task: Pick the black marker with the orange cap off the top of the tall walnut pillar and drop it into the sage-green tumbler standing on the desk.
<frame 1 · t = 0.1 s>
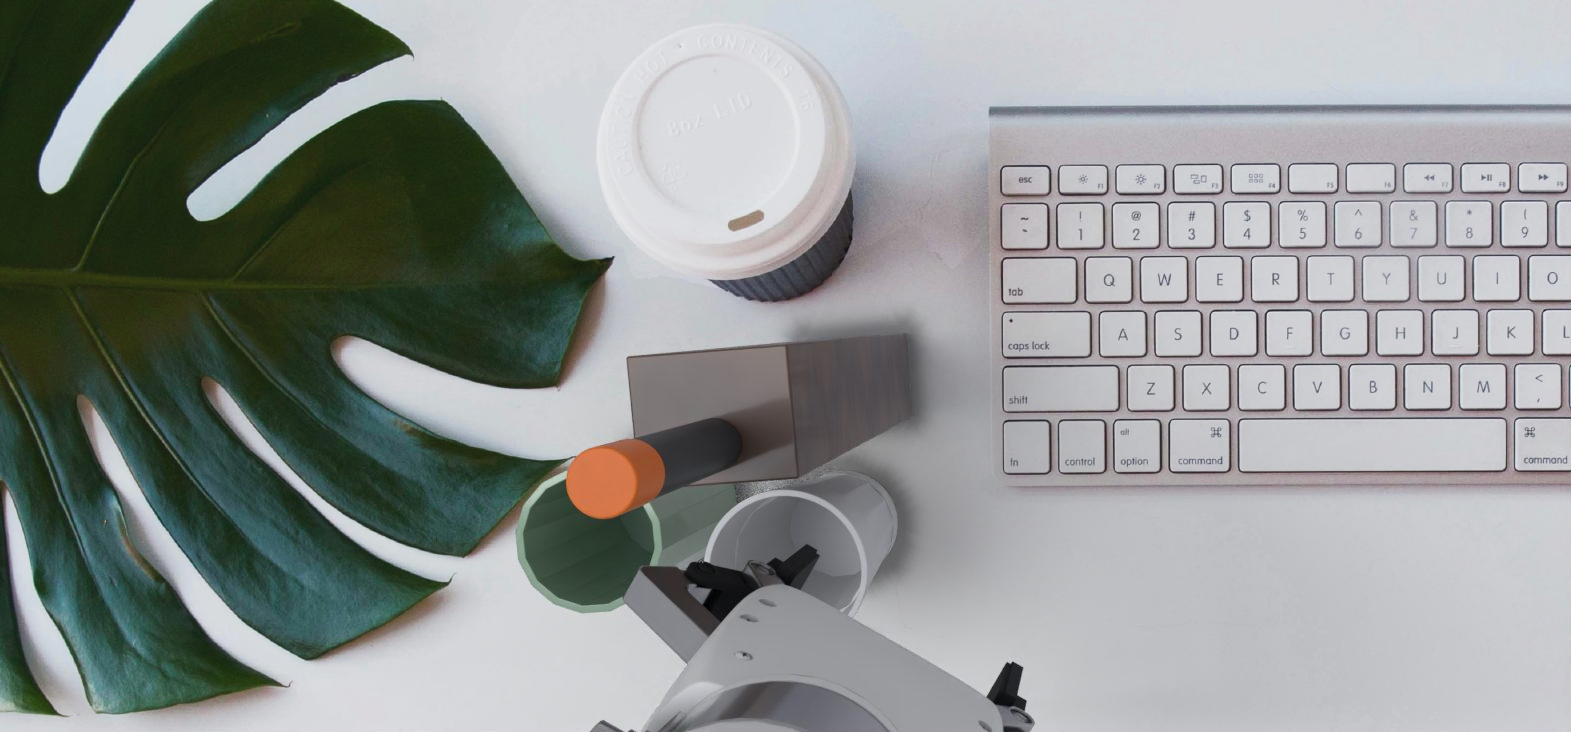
hand: (897, 636, 45), 19 cm above the table, tool pointing down, fingers open, 9 cm apart
glass: (676, 501, 64), on the table
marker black: (714, 444, 40), point 24 cm above the table, touching stand
cup: (845, 522, 64), on the table
stand: (859, 378, 64), on the table
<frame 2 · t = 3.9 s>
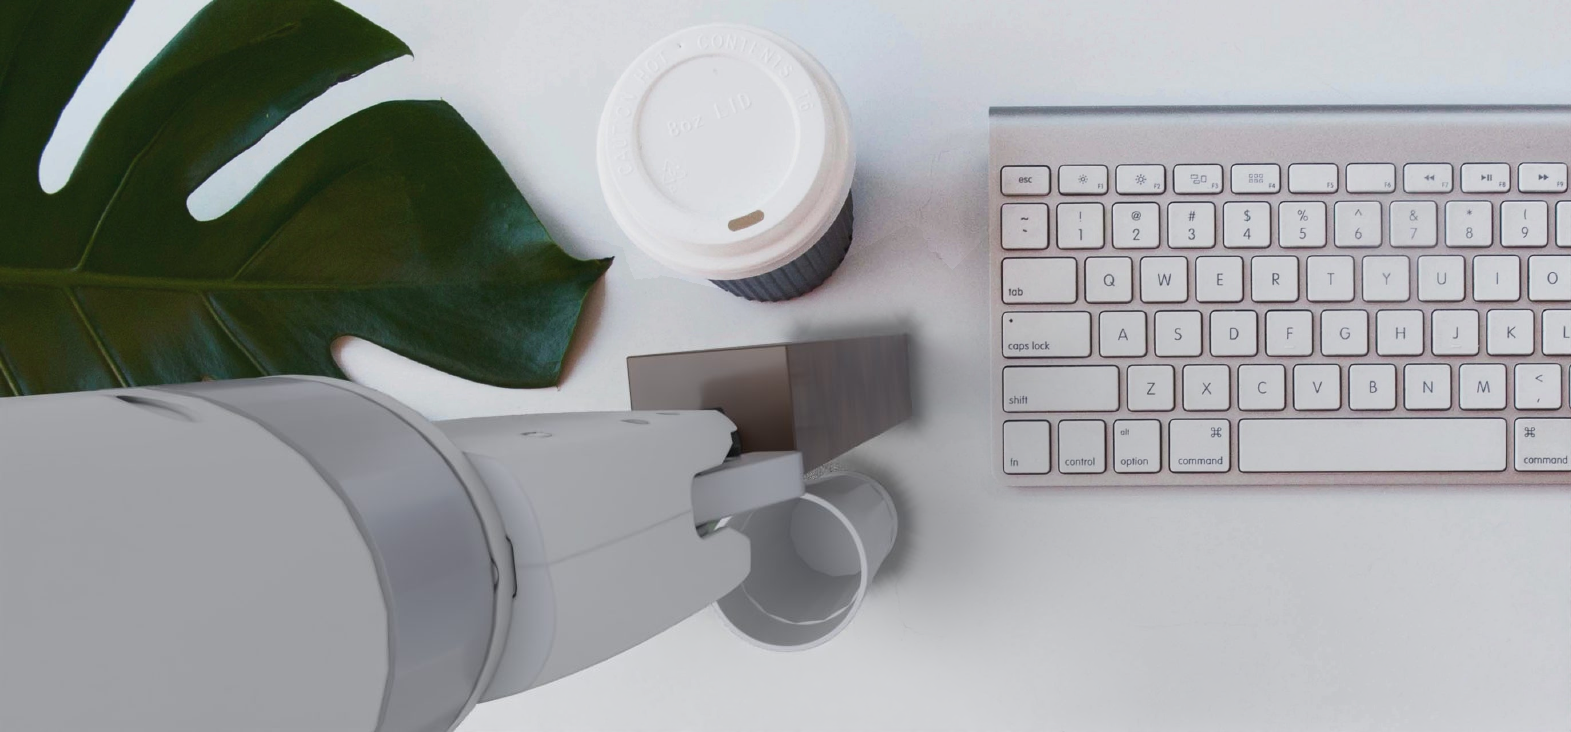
hand: (676, 457, 36), 28 cm above the table, tool pointing down, fingers closed on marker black, 2 cm apart
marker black: (714, 444, 40), point 24 cm above the table, touching gripper, stand
everything else where it was.
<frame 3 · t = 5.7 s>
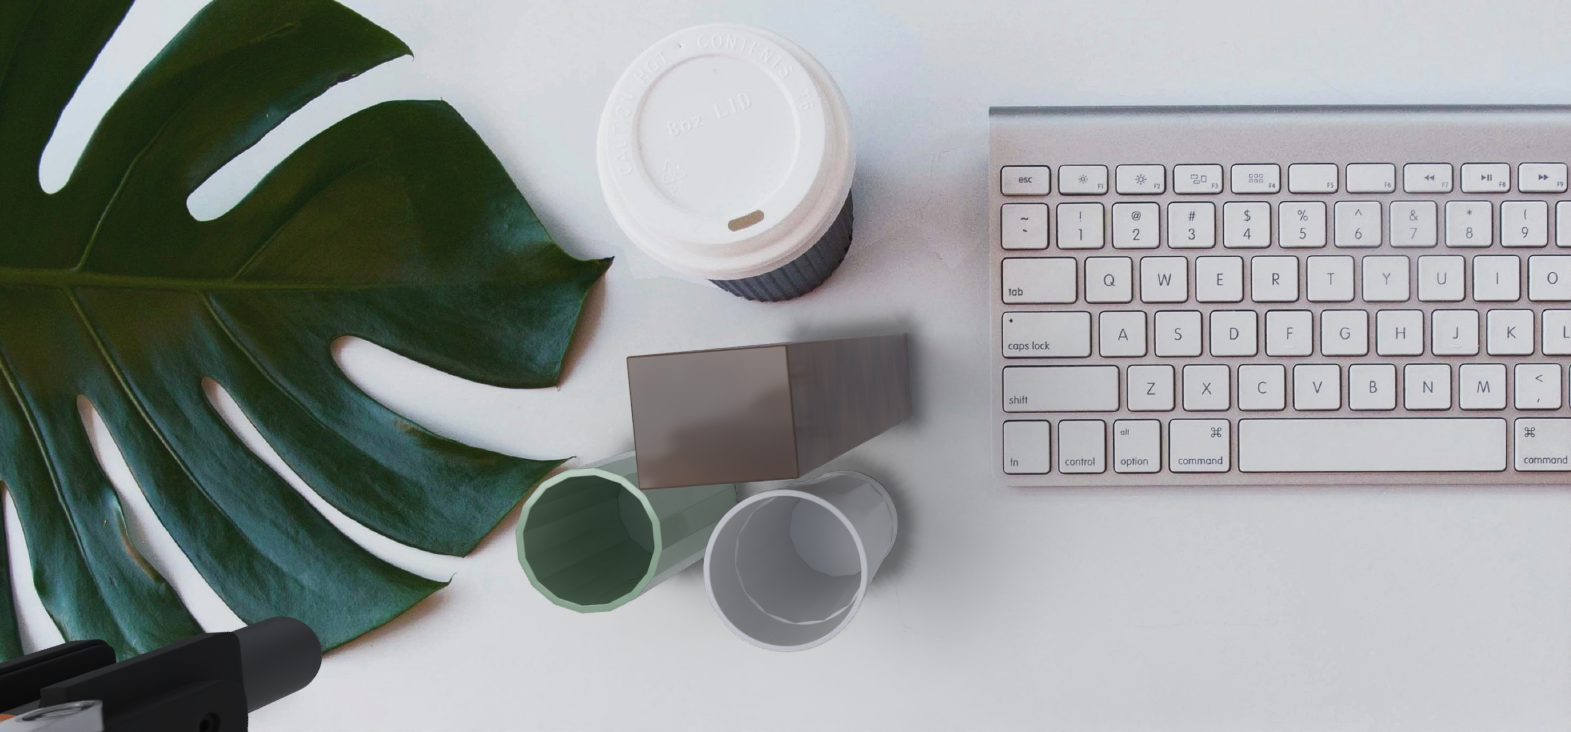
hand: (163, 704, 24), 40 cm above the table, tool pointing down, fingers closed on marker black
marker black: (285, 653, 28), point 36 cm above the table, touching gripper
everything else where it was.
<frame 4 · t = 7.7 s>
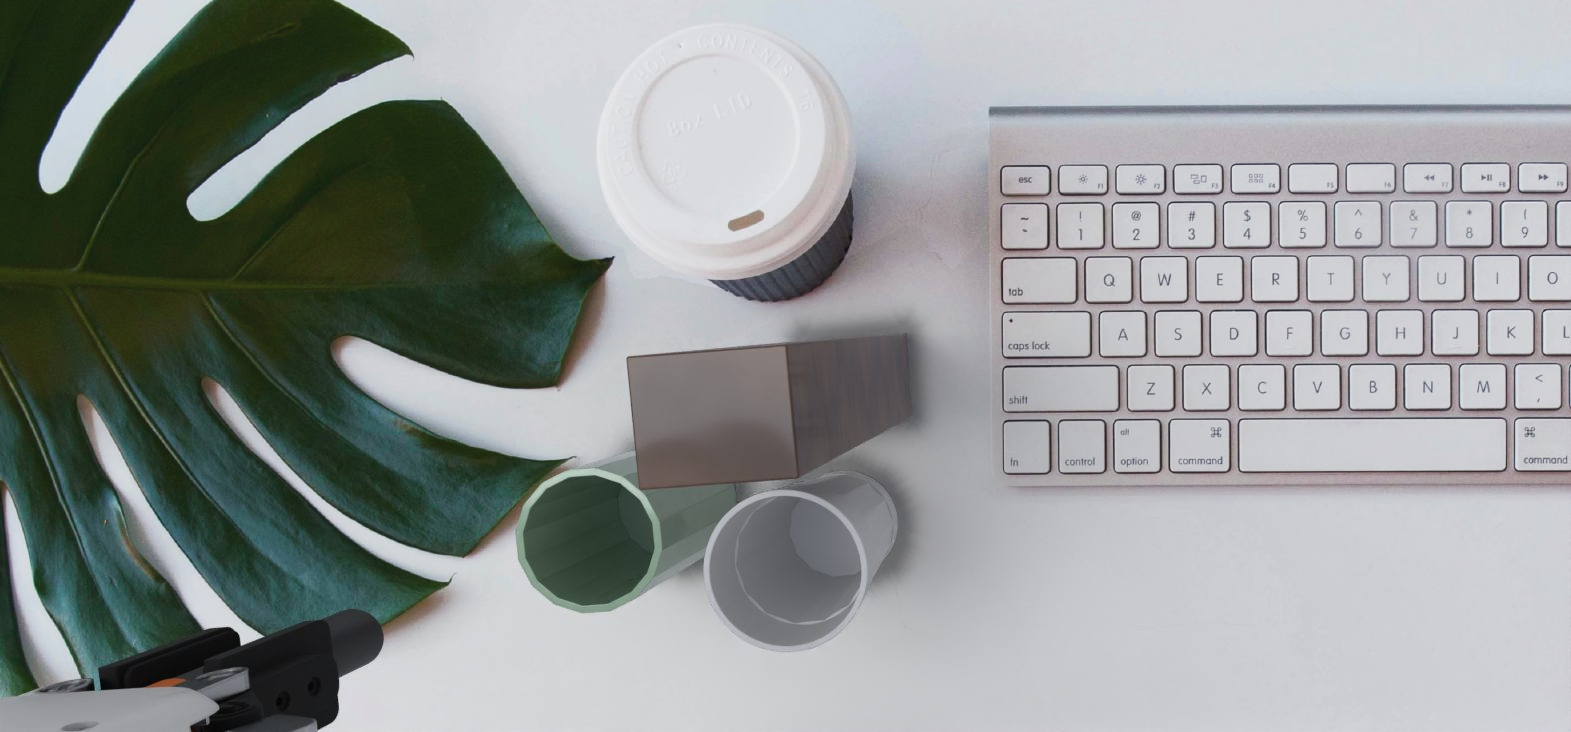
hand: (276, 673, 33), 31 cm above the table, tool pointing down, fingers closed on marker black
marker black: (355, 637, 37), point 28 cm above the table, touching gripper
everything else where it was.
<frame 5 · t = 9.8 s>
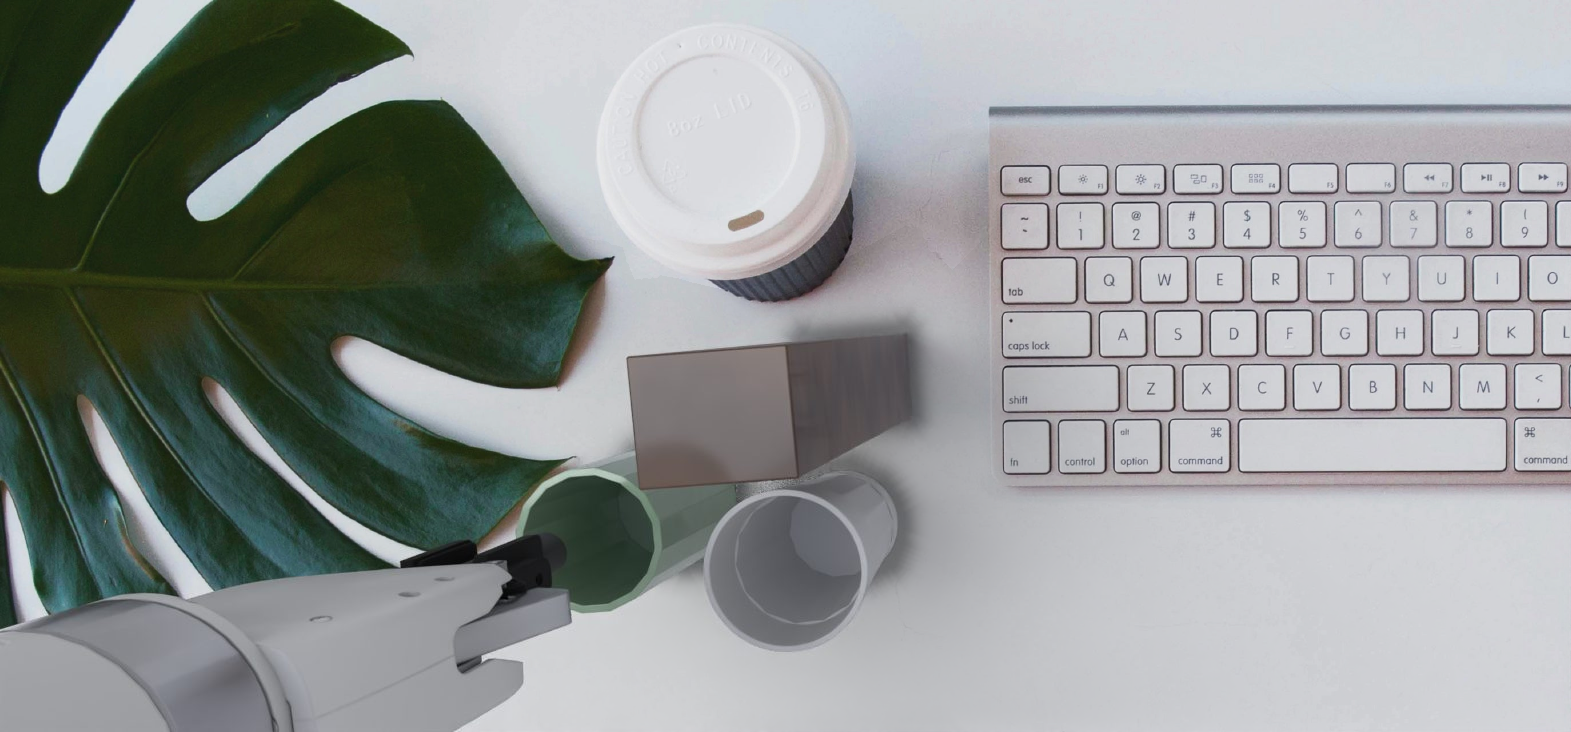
hand: (503, 573, 46), 19 cm above the table, tool pointing down, fingers closed on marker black, 2 cm apart
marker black: (546, 553, 49), point 15 cm above the table, touching gripper
everything else where it was.
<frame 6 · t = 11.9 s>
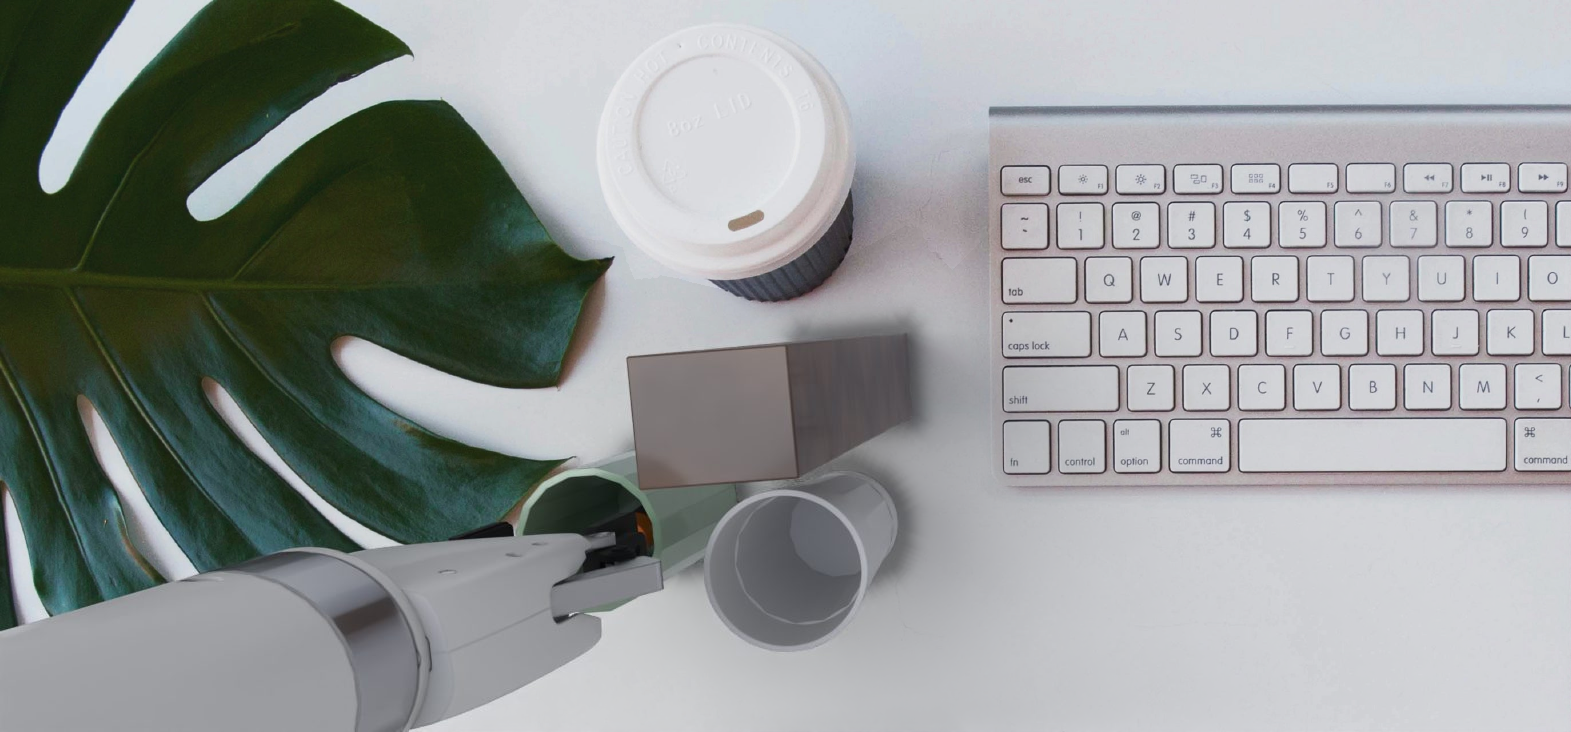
hand: (569, 549, 51), 13 cm above the table, tool pointing down, fingers open, 5 cm apart
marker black: (672, 504, 63), point 1 cm above the table, tilted 8°, touching glass
everything else where it was.
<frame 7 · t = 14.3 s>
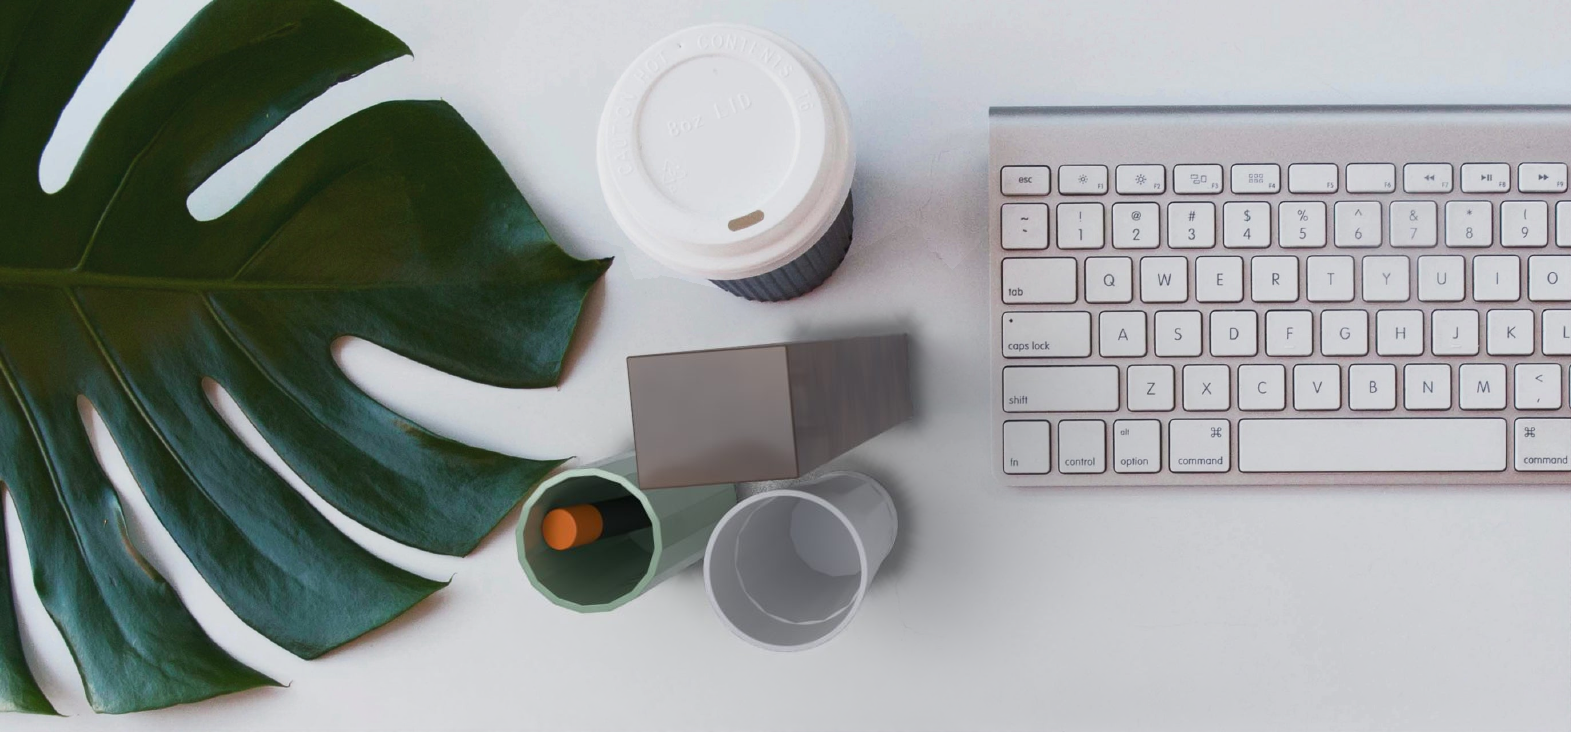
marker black: (671, 504, 63), point 1 cm above the table, tilted 14°, touching glass
everything else where it was.
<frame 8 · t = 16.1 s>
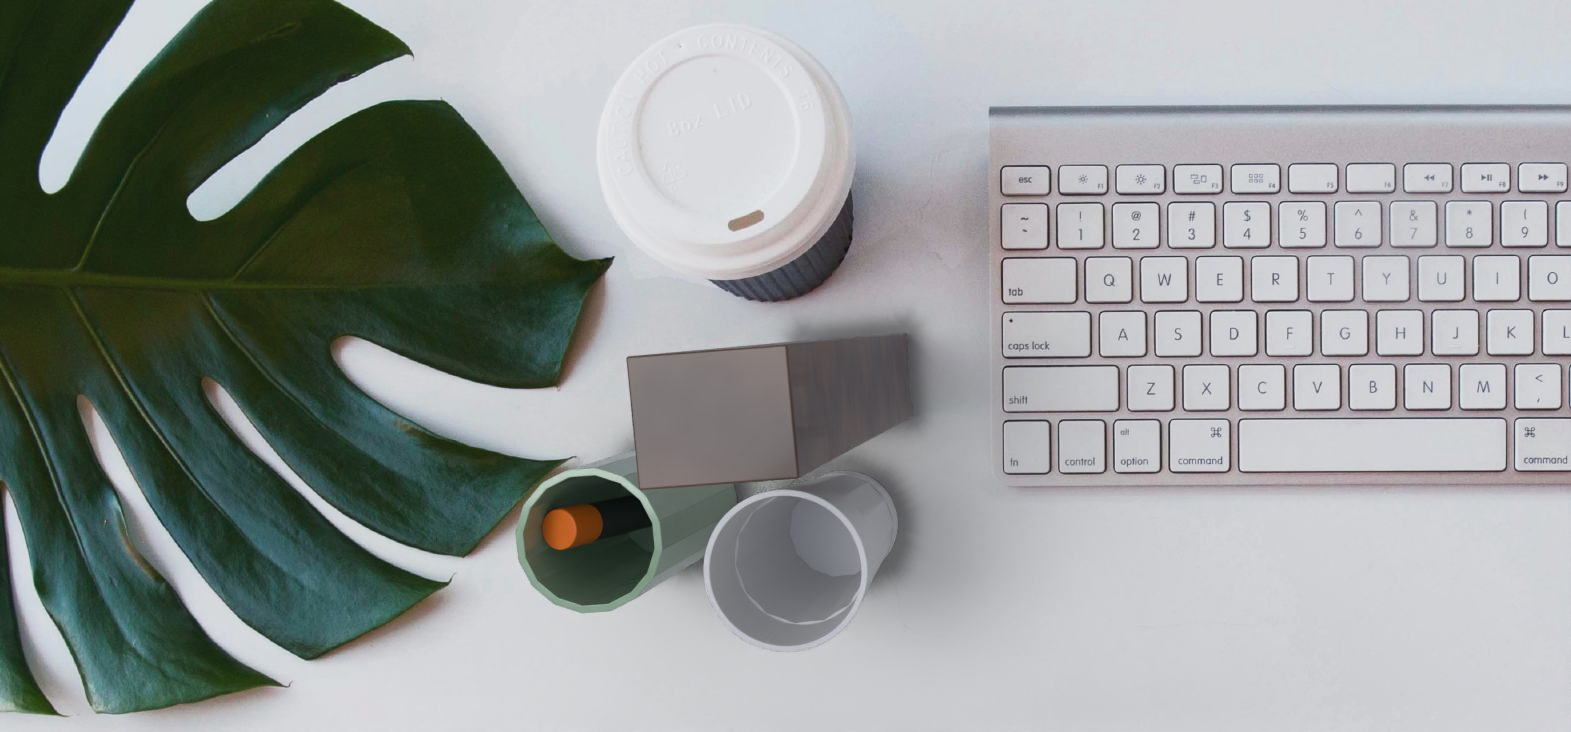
nothing on the table moved.
at the end: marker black 0.0 cm off-centre in the glass, point 0.8 cm above the glass's base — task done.
